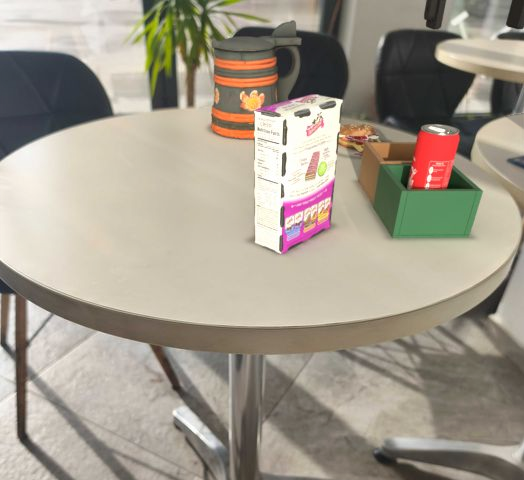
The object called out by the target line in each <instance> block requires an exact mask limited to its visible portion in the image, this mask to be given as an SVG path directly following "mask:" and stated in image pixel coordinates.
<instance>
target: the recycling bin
mask: <svg viewBox="0 0 524 480" xmlns="http://www.w3.org/2000/svg"><path fill="white" fill-rule="evenodd" d="M411 165H412V164H380V168H379V174H378V180H377V186H376V192H375V198H374V204H372V208H373V210H374V211H375V213H376V215H377V216H378V218H379V220H380V221H381V222H382V224H383V226H384V227H385V229H386V231H387V232H388V234H389V236H390V237H391V238H392V239H448V238H449V239H451V238H452V239H454V238H457V239H460V238H463V239H464V238H470V235H471V233H472V229H473V226H474V222H475V220H476V216H477V212H478V210H479V206H480V204H481V203H480V202H481V199H482V196H483V193H484V190H483V189H482V188H481V187H479V186H478V185H477V184H476V183H475V182H473V181H472V180H471V179H470V178H469V177H468V176H467V175H465V174H464V173H463V172H462V171H461V170H460V169H459V168H457V167H456V166H455V165H454V164H453V167H452V170H451V174H450V178H449V182H448V186H447V189H407V184H408V180H409V175H410V170H411Z"/></svg>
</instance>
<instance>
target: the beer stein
mask: <svg viewBox="0 0 524 480" xmlns="http://www.w3.org/2000/svg"><path fill="white" fill-rule="evenodd" d="M302 40H303V39H302V37H299V36H297V22H296V20H294V19H291V20H290V21H284V22H282V23H280V24H278V25H277V26H276V28H275V29H274V30H273V32H272V33H271V35H261V36H257V37H256V36H231V37H227V38H224V39H222V40H211V41H212V42H211V47H212V48H213V56H214V62H213V64H214V65H213V78H212V79H213V81H214V88H213V89H214V90H213V105H212V106H211V125H210V129H211V131H212V132H213V133H214V134H216V135H219V136H221V137H224V138H227V139H235V140H236V139H237V140H254V110H255V109H259V108H263V107H266V106H270V105H274V104H277V103H281V102H285V101H288V100H290V99H289V95H290V94H291V92H292V90H293V88H294V86H295V85H296V82H297V80H298V77H299V75H300V71H301V54H300V50H299V47H298V46H301V45H302ZM282 49H286V50H287V51H288V52H289V53H290V55H291V58H292V62H291V63H292V64H291V66H290V68H289V69H290V70H289V71H288V73H286V74H285V75H284V76H279V74H278V69H279V68H278V66H277V65H278V64H277V59H278V58H277V57H278V56H276V53H277V51H278V50H282Z"/></svg>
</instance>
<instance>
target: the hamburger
mask: <svg viewBox="0 0 524 480" xmlns="http://www.w3.org/2000/svg"><path fill="white" fill-rule="evenodd" d="M379 135H380V133H379V132H378V131H376V128H375V127H374V126H373V125H371V124H368V123H358V124H355V123H353V124H344V125H340V132H339V143H338V145H340V146H342V147H345V148H347V149H356V150H357V151H358V152H356V153H354V155H355V156H360V158H361V159H362V155H363V148H364V142H382V141H381V139H379V138H380V136H379Z"/></svg>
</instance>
